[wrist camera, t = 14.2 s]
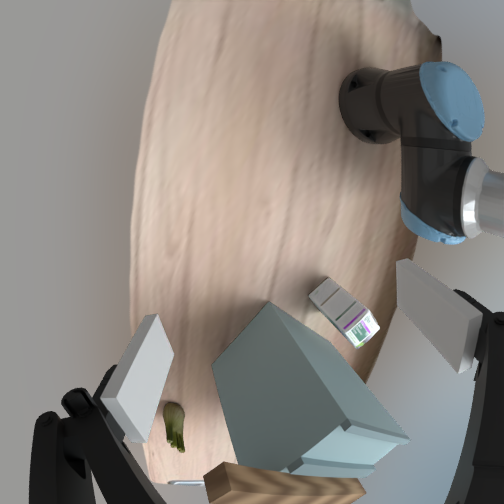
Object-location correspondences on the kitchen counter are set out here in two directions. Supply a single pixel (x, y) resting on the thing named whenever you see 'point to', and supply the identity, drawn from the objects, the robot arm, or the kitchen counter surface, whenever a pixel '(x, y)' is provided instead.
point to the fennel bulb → (174, 425)
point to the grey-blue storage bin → (299, 403)
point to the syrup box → (345, 312)
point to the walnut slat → (276, 487)
